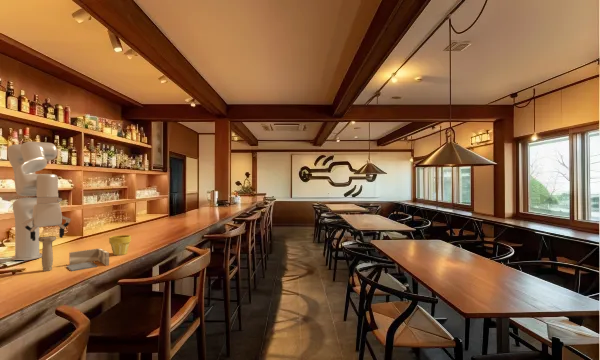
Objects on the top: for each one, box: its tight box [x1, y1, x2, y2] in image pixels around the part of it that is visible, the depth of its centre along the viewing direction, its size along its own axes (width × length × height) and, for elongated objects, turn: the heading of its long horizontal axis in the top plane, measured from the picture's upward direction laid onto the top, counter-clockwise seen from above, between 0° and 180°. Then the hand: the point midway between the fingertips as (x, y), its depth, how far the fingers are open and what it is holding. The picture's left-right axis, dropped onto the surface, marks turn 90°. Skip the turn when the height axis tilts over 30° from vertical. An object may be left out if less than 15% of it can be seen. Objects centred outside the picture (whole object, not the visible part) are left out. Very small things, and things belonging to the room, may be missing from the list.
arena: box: [68, 247, 110, 267], centre depth 148 cm, size 15×13×6 cm
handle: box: [38, 236, 57, 272], centre depth 139 cm, size 5×6×15 cm
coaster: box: [66, 261, 98, 272], centre depth 145 cm, size 10×10×1 cm
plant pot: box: [108, 234, 132, 256], centre depth 171 cm, size 10×10×10 cm
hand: (47, 238), depth 139 cm, fingers open, 9 cm apart
